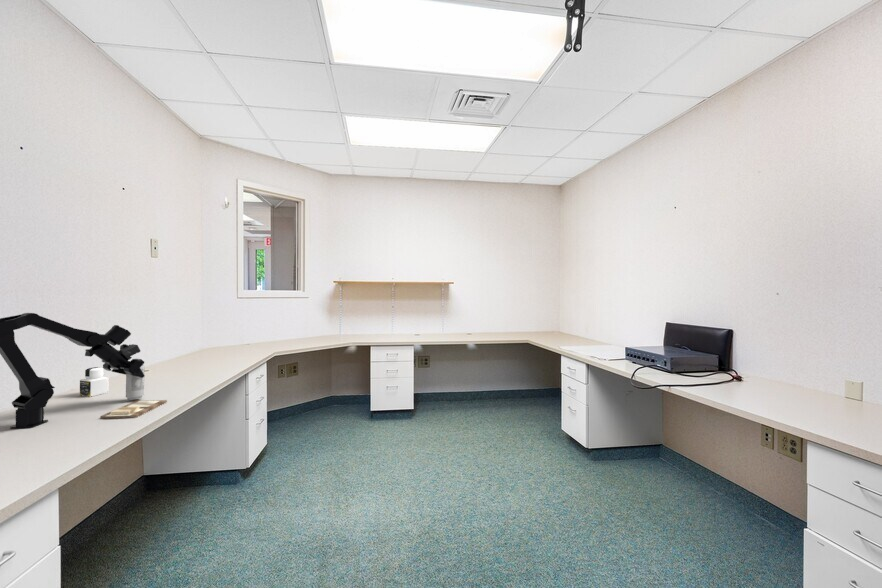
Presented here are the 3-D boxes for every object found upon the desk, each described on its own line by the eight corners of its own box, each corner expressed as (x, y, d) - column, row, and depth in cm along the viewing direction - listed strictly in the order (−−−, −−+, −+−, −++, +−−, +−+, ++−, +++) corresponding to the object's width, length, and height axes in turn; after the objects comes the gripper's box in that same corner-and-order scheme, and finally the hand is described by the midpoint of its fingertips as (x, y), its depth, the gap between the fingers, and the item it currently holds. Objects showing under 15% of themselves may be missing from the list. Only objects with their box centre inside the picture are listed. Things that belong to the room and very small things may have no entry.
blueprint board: (135, 418, 135) (135, 411, 135) (99, 419, 133) (99, 413, 133) (167, 402, 154) (167, 396, 154) (135, 403, 152) (135, 397, 152)
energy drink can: (139, 395, 160) (140, 361, 161) (146, 397, 158) (147, 362, 158) (122, 398, 155) (123, 363, 155) (129, 400, 152) (130, 364, 152)
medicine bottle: (79, 395, 162) (79, 368, 162) (98, 391, 169) (98, 365, 169) (90, 397, 160) (90, 369, 160) (108, 392, 167) (109, 366, 167)
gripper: (139, 340, 149) (167, 362, 160) (112, 337, 156) (140, 359, 166) (116, 362, 142) (147, 384, 152) (88, 358, 149) (119, 380, 159)
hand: (139, 376), depth 158 cm, fingers closed on energy drink can, 6 cm apart
